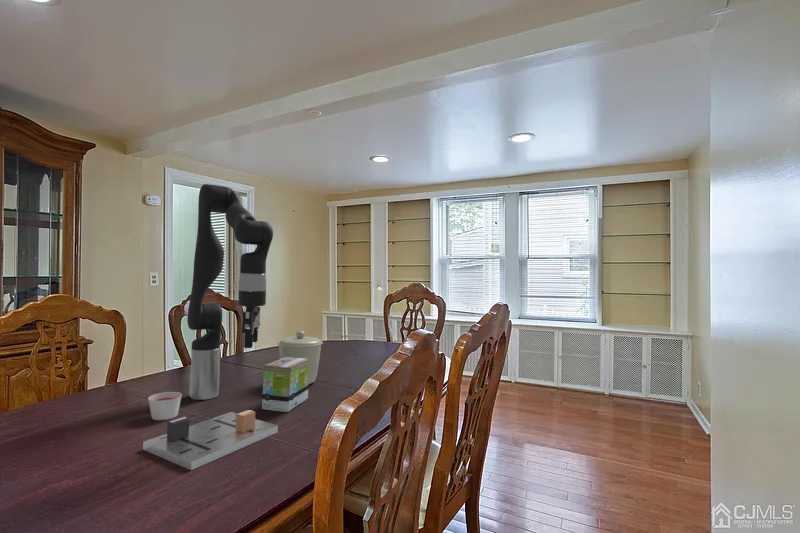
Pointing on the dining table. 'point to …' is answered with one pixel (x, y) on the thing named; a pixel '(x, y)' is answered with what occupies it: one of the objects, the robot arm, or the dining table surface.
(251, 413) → the fader terracotta
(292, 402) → the tea box
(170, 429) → the fader black
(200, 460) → the mixing board
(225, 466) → the dining table surface
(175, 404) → the candle
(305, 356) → the canister
